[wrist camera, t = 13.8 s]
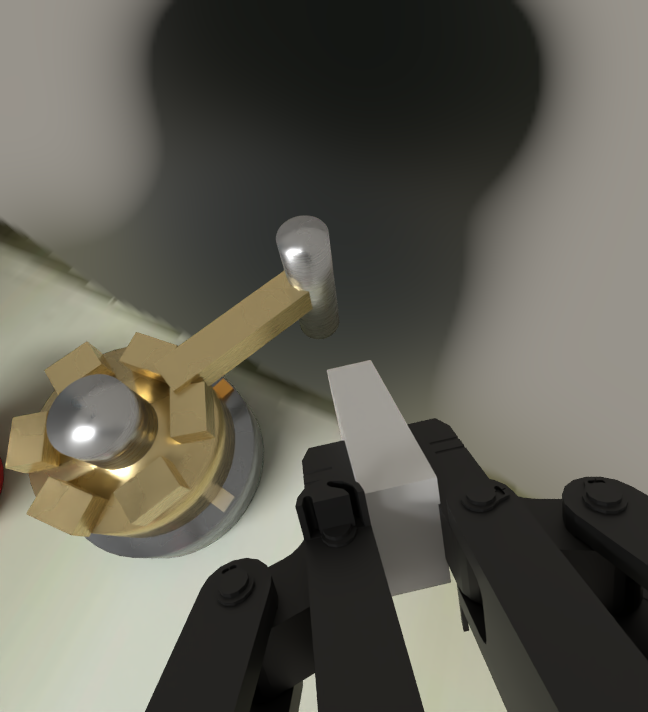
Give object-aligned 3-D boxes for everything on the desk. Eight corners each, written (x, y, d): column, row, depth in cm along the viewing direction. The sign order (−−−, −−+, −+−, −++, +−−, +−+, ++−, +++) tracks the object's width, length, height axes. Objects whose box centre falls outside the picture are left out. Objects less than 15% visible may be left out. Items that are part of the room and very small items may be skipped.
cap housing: (52, 488, 30) (17, 480, 27) (169, 350, 33) (150, 329, 31) (183, 601, 26) (159, 606, 23) (298, 432, 30) (290, 418, 27)
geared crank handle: (120, 578, 24) (-1, 586, 16) (47, 440, 28) (-79, 391, 20) (385, 362, 28) (392, 283, 20) (290, 267, 32) (264, 169, 24)
